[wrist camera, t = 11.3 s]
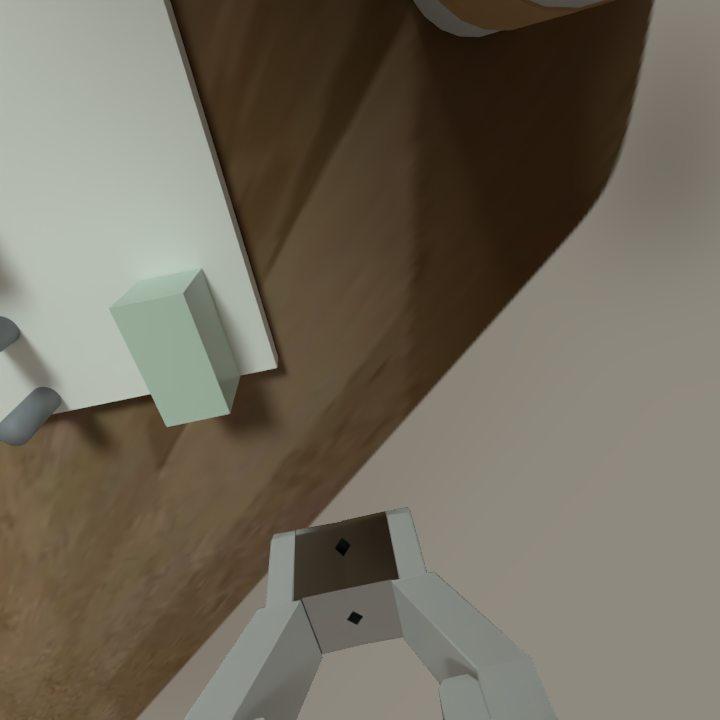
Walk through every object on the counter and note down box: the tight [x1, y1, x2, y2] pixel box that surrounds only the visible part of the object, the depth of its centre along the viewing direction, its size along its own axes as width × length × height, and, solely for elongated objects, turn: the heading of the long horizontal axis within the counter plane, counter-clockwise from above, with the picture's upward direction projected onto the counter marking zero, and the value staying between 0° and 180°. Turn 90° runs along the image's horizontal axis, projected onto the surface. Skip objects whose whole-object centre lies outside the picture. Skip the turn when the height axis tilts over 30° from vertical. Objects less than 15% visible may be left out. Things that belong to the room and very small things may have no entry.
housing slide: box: [109, 268, 240, 427], centre depth 20 cm, size 6×3×4 cm, turn 10°
